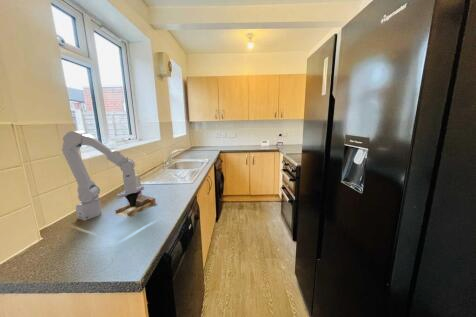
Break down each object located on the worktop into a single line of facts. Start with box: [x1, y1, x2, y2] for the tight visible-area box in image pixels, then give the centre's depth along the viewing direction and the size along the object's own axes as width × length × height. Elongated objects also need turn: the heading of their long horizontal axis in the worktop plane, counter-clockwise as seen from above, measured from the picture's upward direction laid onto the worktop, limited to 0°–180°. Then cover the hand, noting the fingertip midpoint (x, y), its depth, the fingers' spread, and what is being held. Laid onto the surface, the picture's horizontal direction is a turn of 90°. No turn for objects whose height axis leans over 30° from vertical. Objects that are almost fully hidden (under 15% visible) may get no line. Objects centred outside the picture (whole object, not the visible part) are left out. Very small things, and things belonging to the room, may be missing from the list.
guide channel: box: [112, 195, 158, 218], centre depth 106 cm, size 18×13×4 cm
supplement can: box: [135, 173, 143, 199], centre depth 122 cm, size 8×8×15 cm
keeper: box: [135, 197, 149, 207], centre depth 110 cm, size 5×6×4 cm
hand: (133, 206), depth 105 cm, fingers closed
